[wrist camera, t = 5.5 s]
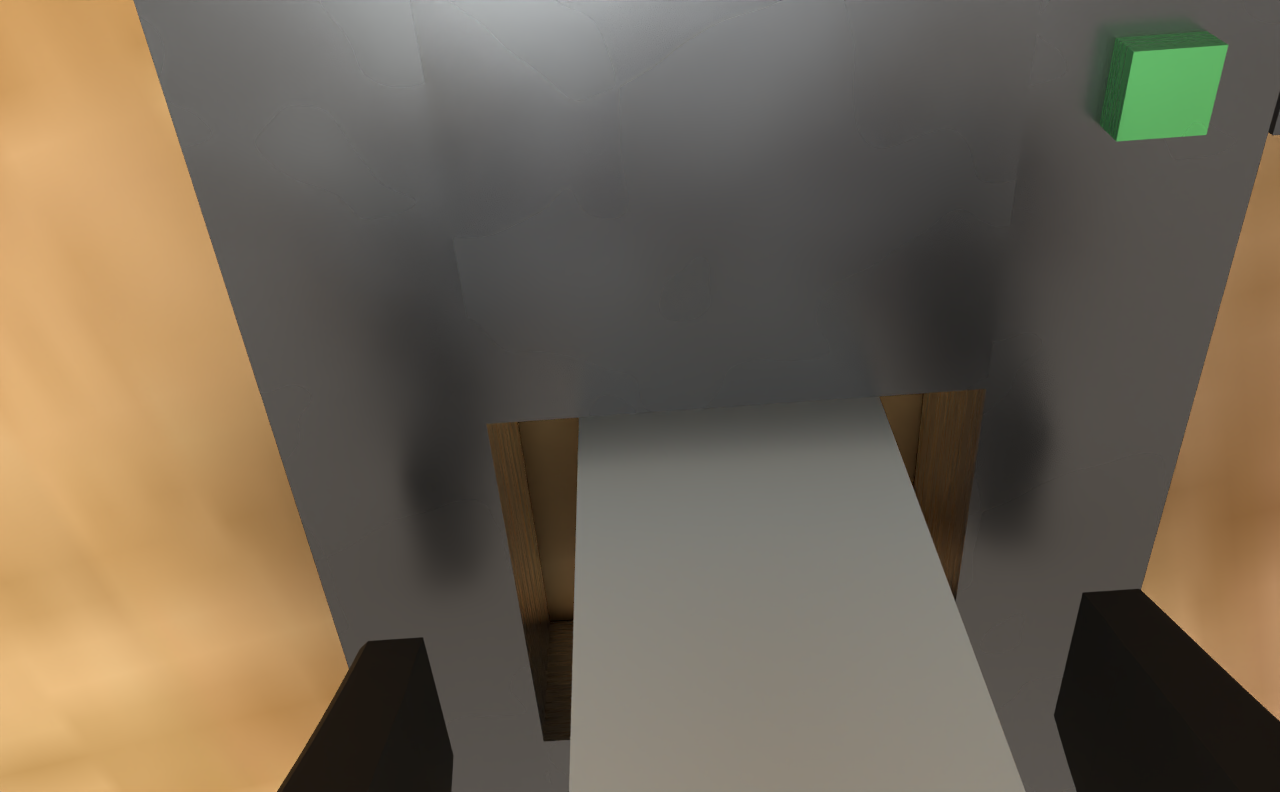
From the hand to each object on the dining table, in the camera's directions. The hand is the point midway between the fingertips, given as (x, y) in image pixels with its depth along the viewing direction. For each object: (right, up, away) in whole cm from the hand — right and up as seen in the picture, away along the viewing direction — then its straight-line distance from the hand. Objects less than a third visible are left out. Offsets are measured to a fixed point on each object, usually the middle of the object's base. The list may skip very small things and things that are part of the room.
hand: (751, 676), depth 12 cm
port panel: (0, +2, +3) cm, 4 cm away
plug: (0, +2, +3) cm, 4 cm away
